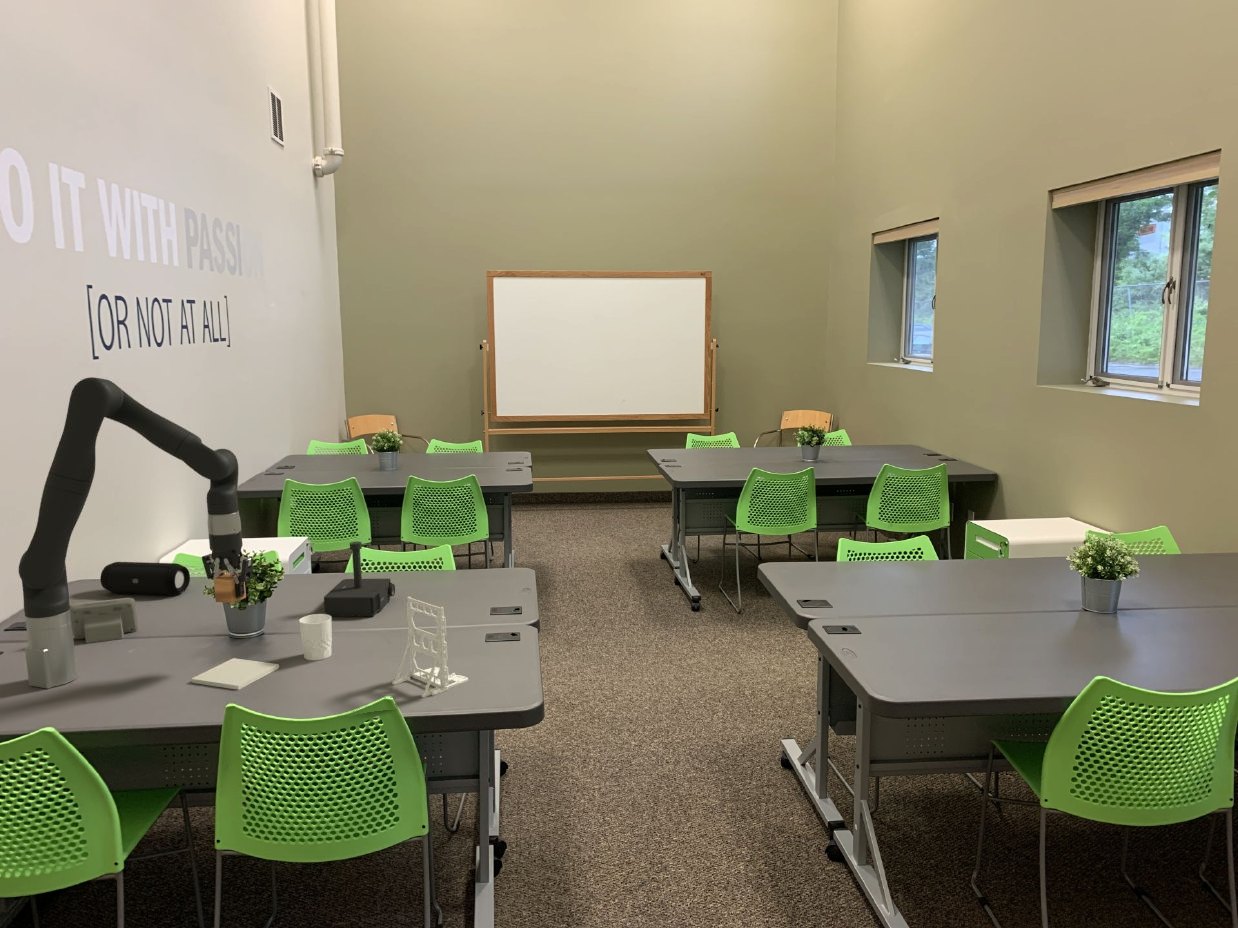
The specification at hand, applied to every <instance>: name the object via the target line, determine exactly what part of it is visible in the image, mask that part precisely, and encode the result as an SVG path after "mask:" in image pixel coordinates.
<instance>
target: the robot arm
mask: <svg viewBox="0 0 1238 928" xmlns="http://www.w3.org/2000/svg"><path fill="white" fill-rule="evenodd" d="M105 418H106V419H109V420H111V421H113V422H117V423H118V424H122V425H124V426H125V427H127V428H130V429H132V430H133V431H135V432H136V433H137V434H139V435H141V436H142V437H143V438H144V439H146V440H147V441H148V442H149V443H151V444H152V445H154V446H155V447H157V448H158V449H160V450H162V451H163V452H165V453H167V454H169V455H170V456H172V457H174V458H176V459H177V460H180V461H181V462H183V463H184V464H186V466H188V467H189V468H190V469H192V470H193V471H194V472H195V473H197V474H198V475H199V476H201V477H203V478H205V479H207V480H209V483H210V484H209V489H208V491H207V493H206V507H207V533H208V541H209V550H210V551H211V553H208V554H206V555H203V556H202V557H201V560H202V564H203V568H204V571H205V575H206V578H207V579H209V580H213V582H214V578H216V577H219V576H222V575H225V574H226V572H228V573H230V575H231V576H233V579H234V582H235V583H236V584H235V596H236V598H241V597H243V596H244V594H245V591H246V588H245V589H244V582H245V583H246V582H247V581H249V580H252V572H253V564H254V558H253V557H252V556H249V557H247V556H244V554H243V552H242V548H243V536H242V535H243V534H242V523H241V522H242V521H241V516H240V511H239V500H238V495H237V492H238V483H239V462H238V459H237V456H236V454H234V452H233V451H231V450H230V449H228V448H218V449H215V450H214V449H212V448H210V447H209V446H207V445H206V444H204V443H203V441H202V439H201V437H199V436H198V435H196V434H195V433H194V432H191V431H190V430H187V428H184V427H183V426H181V425H179V424H177V423H175V422H173V421H171V420H170V419H167V418H166V417H164V416H162V415H160V414H158V413H156V412H155V411H153V410H151V409H150V408H148V407H146V406H144V405H143V404H141V403H140V402H139V401H138V400H136V399H135V398H133V397H132V396H131V395H130V394H128V392H126V391H124V390H123V388H121V387H119V386H118V385H117V384H116V383H115V382H113V381H112V380H110V379H107V378H99V377H85V378H83V379H80V380H79V381H78V382H77V383H76V384H75V385H74V387H73V388H72V389H71V393H70V396H69V401H68V407H67V413H66V417H65V422H64V427H63V430H62V434H61V436H60V439H59V442H58V445H57V447H56V450H55V453H54V457H53V460H52V462H51V465H50V467H49V470H48V474H47V476H46V479H45V482H44V483H45V484H44V486H43V490H42V493H41V494H42V495H41V499H40V504H39V509H38V517H37V522H36V527H35V530H34V532H33V536H32V538H31V540H30V543H29V544H28V547H27V550H26V551H24V553H23V554H22V556H20V557H21V558H20V560H19V563H18V575H19V578H20V579H21V584H22V587H21V588H22V594H23V610H24V612H23V613H24V618H25V626H26V627H25V628H26V635H27V636H26V637H27V643H28V646H26V647H25V648H24V653H25V661H26V669H27V677H28V685H29V686H30V687H35V688H44V689H51V688H54V687H58V686H62V685H65V684H68V683H71V682H72V681H74V680H76V679H77V678H78V676H79V675H78V669H77V668H78V667H77V661H76V660H77V659H76V658H77V657H76V649H75V643H74V635H73V631H72V623H71V614H70V595H69V594H70V593H69V585H68V584H69V583H68V576H67V566H66V559H67V552H68V549H69V544H70V540H71V537H72V535H73V531H74V528H75V527H76V525H77V522H78V521H79V518H80V517H81V513H82V512H83V509H84V506H85V505H86V502H87V499H88V497H89V494H90V490H91V489H92V488H91V487H92V485H93V481H94V478H95V474H96V473H95V472H96V462H97V461H96V460H97V459H96V445H97V438H98V435H99V432H100V429H101V427H102V424H103V422H104V420H105ZM237 574H238V575H237ZM238 576H239V577H238Z"/></svg>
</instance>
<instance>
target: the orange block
mask: <svg viewBox="0 0 1238 928" xmlns="http://www.w3.org/2000/svg"><path fill="white" fill-rule="evenodd" d="M237 575H238V574H237ZM238 577H239V576H238ZM235 584H236V583H235V582H234V579H233V576H231V575H230V573H229V572H227V573H225V575H222V576H219V577H216V578H214V581H213V585H214V586H213V587H214V588H213V589H214V598H215V602H216V603H221V604H223V603H224V604H235V603H236V602H240V601H241V600H244V599H246V598H247V593H246V591H247V590H246V581H245V582H244V589H245V594H244V596H243V597H241V598H236V596H235Z"/></svg>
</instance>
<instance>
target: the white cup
mask: <svg viewBox="0 0 1238 928" xmlns="http://www.w3.org/2000/svg"><path fill="white" fill-rule="evenodd" d="M298 622H299V623H298V624H299V632H300V638H301V645H302V650H303V658H304V659H305V660H308V661H312V662H313V661H321V660H325V659H327V658H329V657H331V656H332V643H333V641H332V639H333V638H332V637H333V636H332V635H333V632H332V631H333V629H332V628H333V626H332V625H333V624H332V623H333V622H332V617H331V616H330V615H327V614H325V613H316V614H315V613H314V614H309V615H305V616H303V617H301V618H299V620H298Z"/></svg>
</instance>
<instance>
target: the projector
mask: <svg viewBox="0 0 1238 928" xmlns="http://www.w3.org/2000/svg"><path fill="white" fill-rule="evenodd" d="M362 548H363V545H362V541H352V542H349V550H351V552H352V553H351V554H352V569H353V578H345V579H342V580H341V581H339V583H337V584H336V585H335V586H334V587H333V588H332V589H331V590H329V591H328V593H326V594H325V595H324V597H323V606H324V607H323V608H324V614H327V615H330V616H331V618H334V617H337V618H338V617H339V618H342V617H344V618H345V617H348V618H349V617H351V618H352V617H358V618H360V617H374V616H375V615H376V614H378V613H380V612H381V611H382V610H383V609H384V607H386V605H387V604H388V603H389V602H390V601H391V597H394V596H395V594H396V585H395V584H394V583H393V582H391V578H363V577H362V576H363V575H362V563H361V559H362V558H361V549H362Z"/></svg>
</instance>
